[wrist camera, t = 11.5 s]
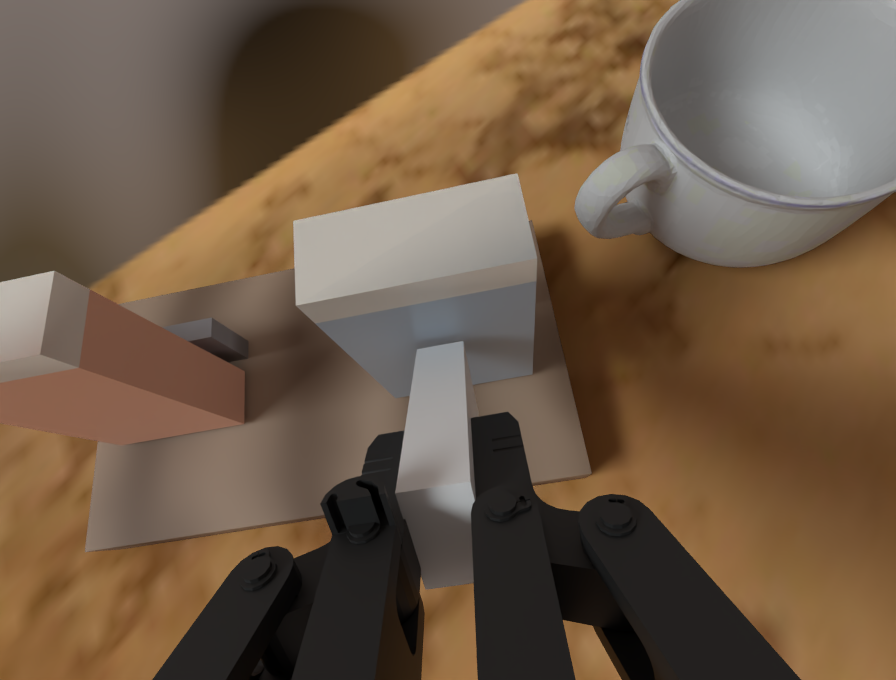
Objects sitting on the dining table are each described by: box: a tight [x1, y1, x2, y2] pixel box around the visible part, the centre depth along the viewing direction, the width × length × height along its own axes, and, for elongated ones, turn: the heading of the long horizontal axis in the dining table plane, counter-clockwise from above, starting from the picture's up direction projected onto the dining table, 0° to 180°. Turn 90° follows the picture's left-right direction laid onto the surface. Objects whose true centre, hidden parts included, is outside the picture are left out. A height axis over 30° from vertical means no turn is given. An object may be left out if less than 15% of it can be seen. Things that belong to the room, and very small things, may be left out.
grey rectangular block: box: [293, 174, 537, 398], centre depth 17 cm, size 6×2×10 cm, turn 98°
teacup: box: [575, 0, 896, 267], centre depth 21 cm, size 14×11×8 cm
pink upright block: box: [0, 271, 245, 445], centre depth 18 cm, size 6×2×10 cm, turn 98°
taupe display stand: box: [85, 220, 592, 552], centre depth 22 cm, size 22×12×5 cm, turn 98°
